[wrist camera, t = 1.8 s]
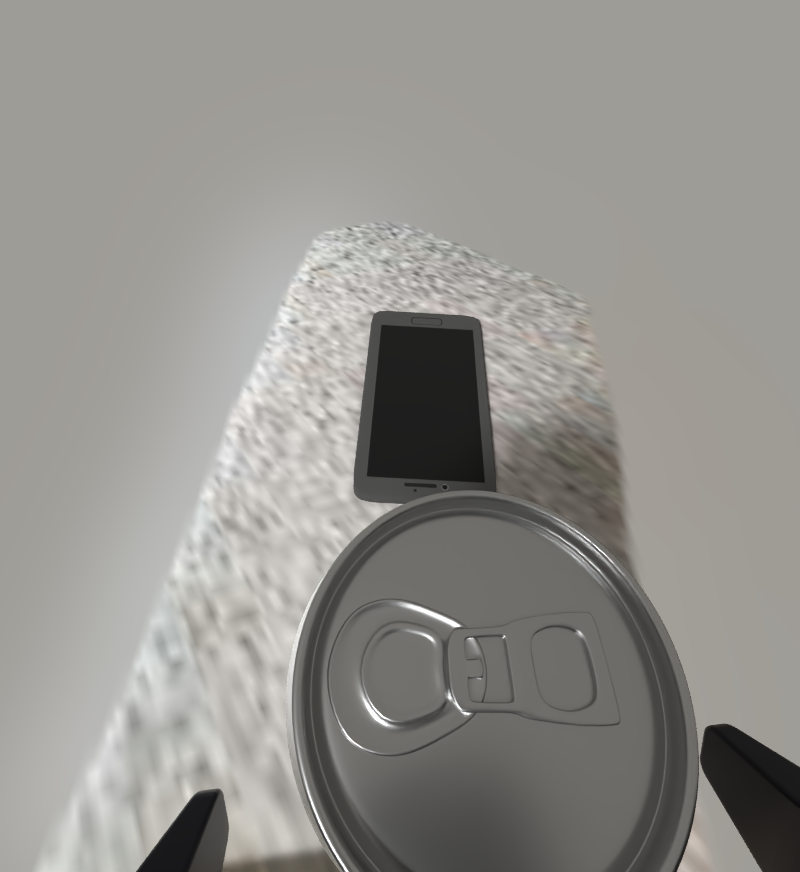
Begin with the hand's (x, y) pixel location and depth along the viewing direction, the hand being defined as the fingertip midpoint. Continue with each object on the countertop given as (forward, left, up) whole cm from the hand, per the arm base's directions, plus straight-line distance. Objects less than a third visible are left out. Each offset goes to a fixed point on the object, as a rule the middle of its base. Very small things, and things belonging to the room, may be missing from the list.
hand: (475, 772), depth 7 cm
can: (+1, 0, -9) cm, 9 cm away
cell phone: (+16, -2, -10) cm, 19 cm away
